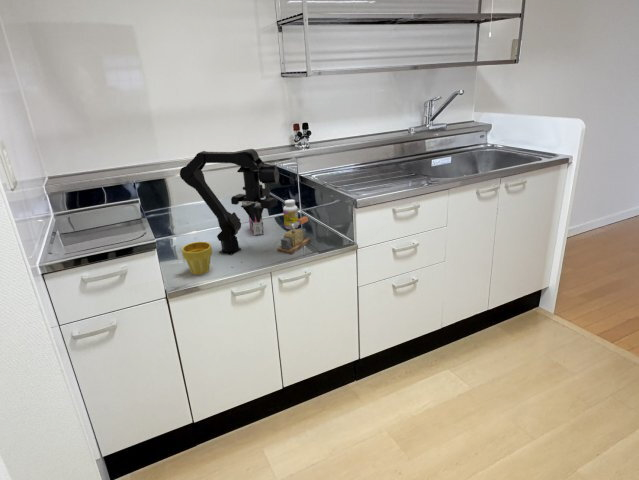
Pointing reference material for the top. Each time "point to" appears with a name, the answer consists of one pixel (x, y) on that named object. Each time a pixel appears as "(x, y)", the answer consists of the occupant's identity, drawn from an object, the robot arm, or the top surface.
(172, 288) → the top surface
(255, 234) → the candy bar box
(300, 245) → the walnut mounting plank
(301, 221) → the valve lever
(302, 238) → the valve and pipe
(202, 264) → the plant pot
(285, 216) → the supplement bottle
